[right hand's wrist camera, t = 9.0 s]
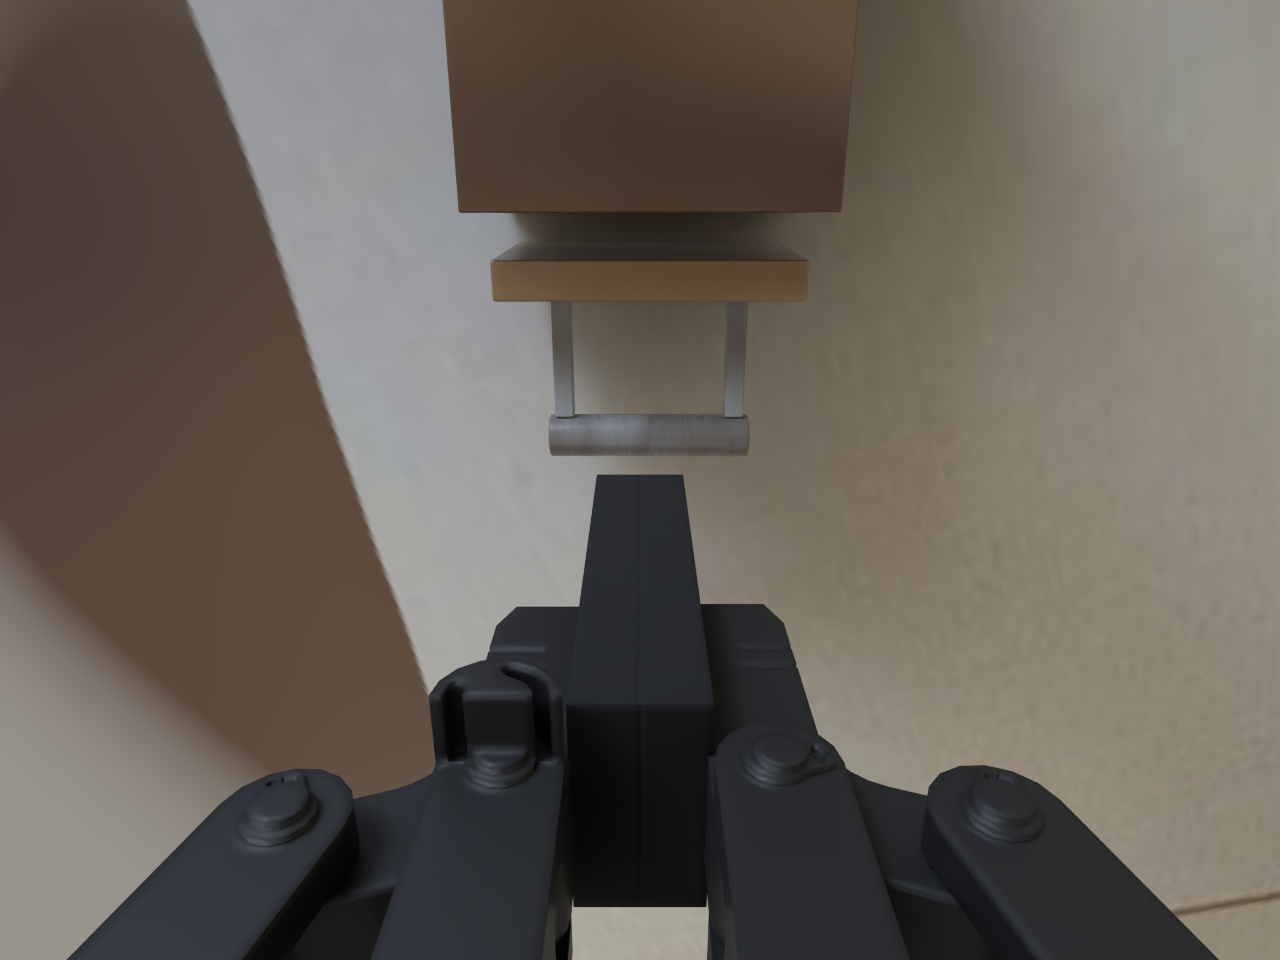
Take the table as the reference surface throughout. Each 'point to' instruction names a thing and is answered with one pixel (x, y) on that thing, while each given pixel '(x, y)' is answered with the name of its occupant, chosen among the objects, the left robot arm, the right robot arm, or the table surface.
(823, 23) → the cabinet
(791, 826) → the right robot arm
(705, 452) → the drawer
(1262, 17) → the table surface
